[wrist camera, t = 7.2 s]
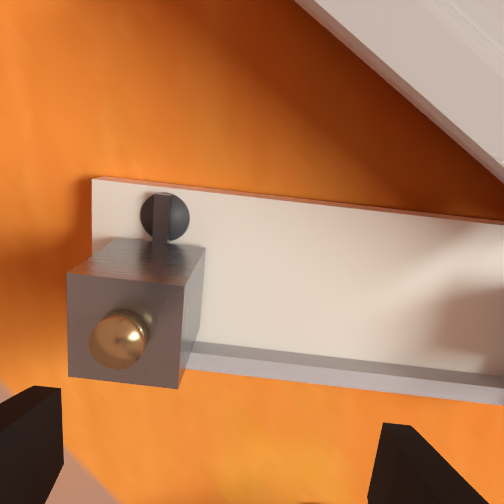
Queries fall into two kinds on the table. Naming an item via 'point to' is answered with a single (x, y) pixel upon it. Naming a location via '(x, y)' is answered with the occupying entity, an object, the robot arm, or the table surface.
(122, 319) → the grey slider block
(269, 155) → the table surface
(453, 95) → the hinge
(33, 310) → the table surface
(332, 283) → the board
